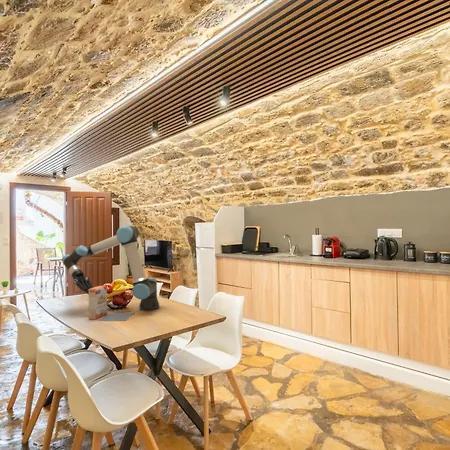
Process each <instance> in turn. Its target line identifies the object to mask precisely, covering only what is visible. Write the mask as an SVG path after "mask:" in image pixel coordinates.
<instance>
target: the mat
mask: <svg viewBox="0 0 450 450" xmlns="http://www.w3.org/2000/svg"><path fill="white" fill-rule="evenodd" d="M133 315H135V312H108V313H107V315H105V316H102V317H100V318H99V319H97V322H126V321H127V320H129V319H130V318H131V317H132V316H133ZM129 317H130V318H129Z"/></svg>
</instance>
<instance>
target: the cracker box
mask: <svg viewBox="0 0 450 450" xmlns="http://www.w3.org/2000/svg"><path fill="white" fill-rule="evenodd" d="M107 294H108V290H107V285H98V286H95V287H92V288H91V289H89V295H88V320H99V319H101V318H103V317H104V316H106V315H107V314H108V302H107V301H108V299H107V297H108V295H107Z"/></svg>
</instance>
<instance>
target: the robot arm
mask: <svg viewBox="0 0 450 450" xmlns="http://www.w3.org/2000/svg"><path fill="white" fill-rule="evenodd" d="M139 236H140V231H139V229H138V228H137V226H133V225H123V226H121V227H119V228H118V230H117V231H116V234H115V235H113V236H111V237H109V238H105V239H103V240H101V241H99V242H97V243H93V244H92V245H88V246H85V245H83V244H82V245H79V246H77V247H76V248H75V250H74V251H73V252H72V253H71V254H69V253H68V254H65V255H64V256H62V257H61V262H62V264H63V265H64V267H65V268H66V269H67V271H68V272H69V274H70V275H71V277H72V279H73V284H74V285H76V286H77V287H78V288H79V289H80V290H81V292H84V293H87V295H88V296H89V289H91V288H93V285H92V282H91V280H90V279H91V278H90V277H86V276H85V275H84V272H83V270H82V269H81V267H80V266H79V264H78V263H79V262H80V261H81V260H82V259H84V258H90V257H93V256H94V255H97V254H100V253H101V252H104V251H107V250H109V249H112V248H113V247H116V246H120V245H121V247H122V248H124V250H125V254H126V258H127V261H128V264H129V269H130V272H131V275H132V278H133V281H132V282H131V283H132V287H133V288H132V295H133V297H135V298H136V299H137V300H140V303H139V305H138V306H139V307H138V309H139V310H140V311H145V312H146V311H147V312H149V311H154V310H159V309H160V302H159V299H158V291H157V289H158V286H157V285H158V282H157V278H156V277H154V278H153V277H151V278H150V277H147V276H146V274H145V270H144V267H143V263H142V260H141V256H140V253H139V249H138V245H137V244H138V238H139Z"/></svg>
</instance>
